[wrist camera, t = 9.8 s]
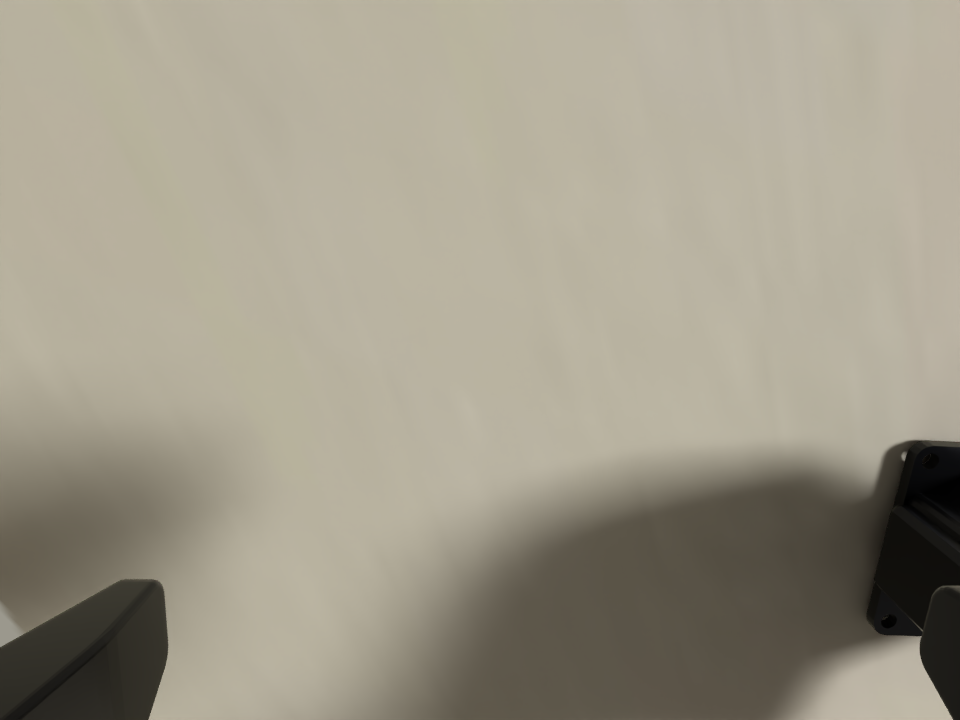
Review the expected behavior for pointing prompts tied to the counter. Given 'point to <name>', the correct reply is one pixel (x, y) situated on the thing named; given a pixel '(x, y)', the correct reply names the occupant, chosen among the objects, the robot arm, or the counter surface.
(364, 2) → the counter surface
